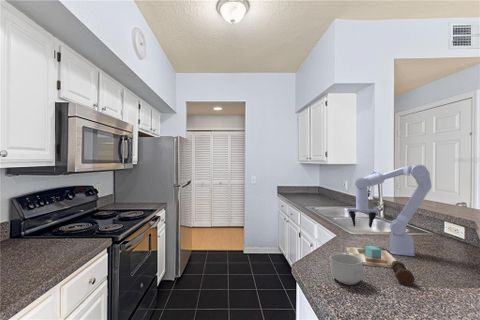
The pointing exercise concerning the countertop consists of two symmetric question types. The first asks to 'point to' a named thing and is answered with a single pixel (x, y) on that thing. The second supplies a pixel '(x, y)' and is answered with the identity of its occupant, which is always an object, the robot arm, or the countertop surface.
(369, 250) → the slider block
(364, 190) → the robot arm
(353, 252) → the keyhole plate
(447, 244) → the countertop surface
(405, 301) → the countertop surface
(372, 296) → the countertop surface
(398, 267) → the bolt
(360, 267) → the teacup
